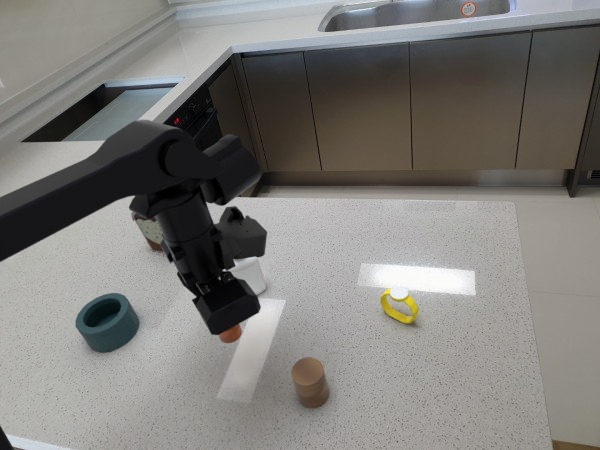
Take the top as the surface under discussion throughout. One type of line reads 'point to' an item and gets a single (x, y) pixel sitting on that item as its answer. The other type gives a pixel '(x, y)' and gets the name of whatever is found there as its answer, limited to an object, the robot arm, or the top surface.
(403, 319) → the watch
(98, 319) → the teal hollow cylinder
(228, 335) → the brown peg with discs
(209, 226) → the robot arm
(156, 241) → the cake slice
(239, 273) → the eye dropper bottle
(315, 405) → the stand
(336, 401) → the top surface
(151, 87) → the top surface
